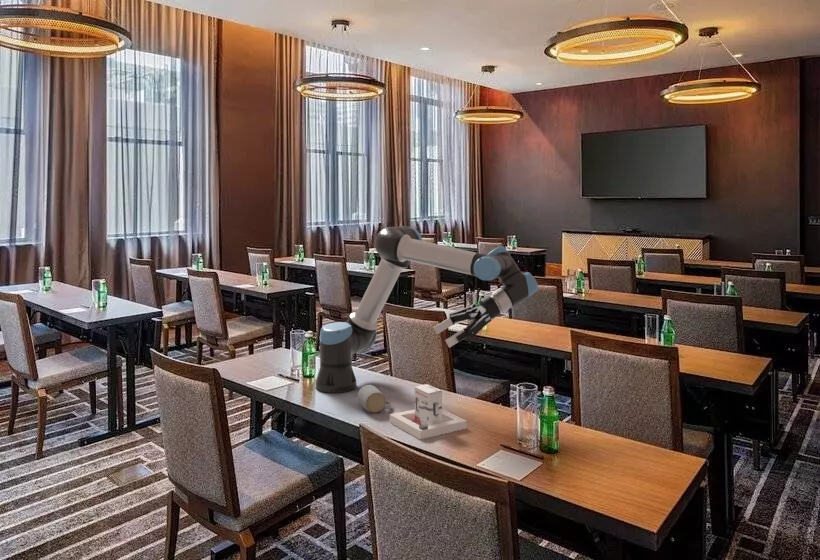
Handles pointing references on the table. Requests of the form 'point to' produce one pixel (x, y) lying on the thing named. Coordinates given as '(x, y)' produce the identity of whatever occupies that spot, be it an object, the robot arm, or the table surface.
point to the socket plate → (424, 431)
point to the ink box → (428, 405)
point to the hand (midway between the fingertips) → (440, 337)
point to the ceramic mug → (372, 399)
